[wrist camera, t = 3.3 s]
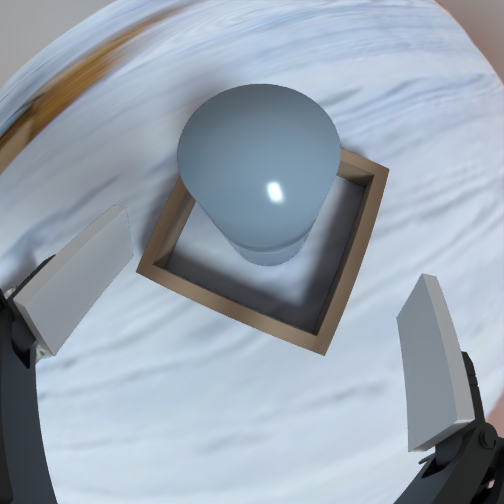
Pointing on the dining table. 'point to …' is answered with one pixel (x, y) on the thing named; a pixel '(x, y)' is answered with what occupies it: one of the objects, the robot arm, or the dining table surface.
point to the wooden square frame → (314, 341)
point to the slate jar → (260, 167)
